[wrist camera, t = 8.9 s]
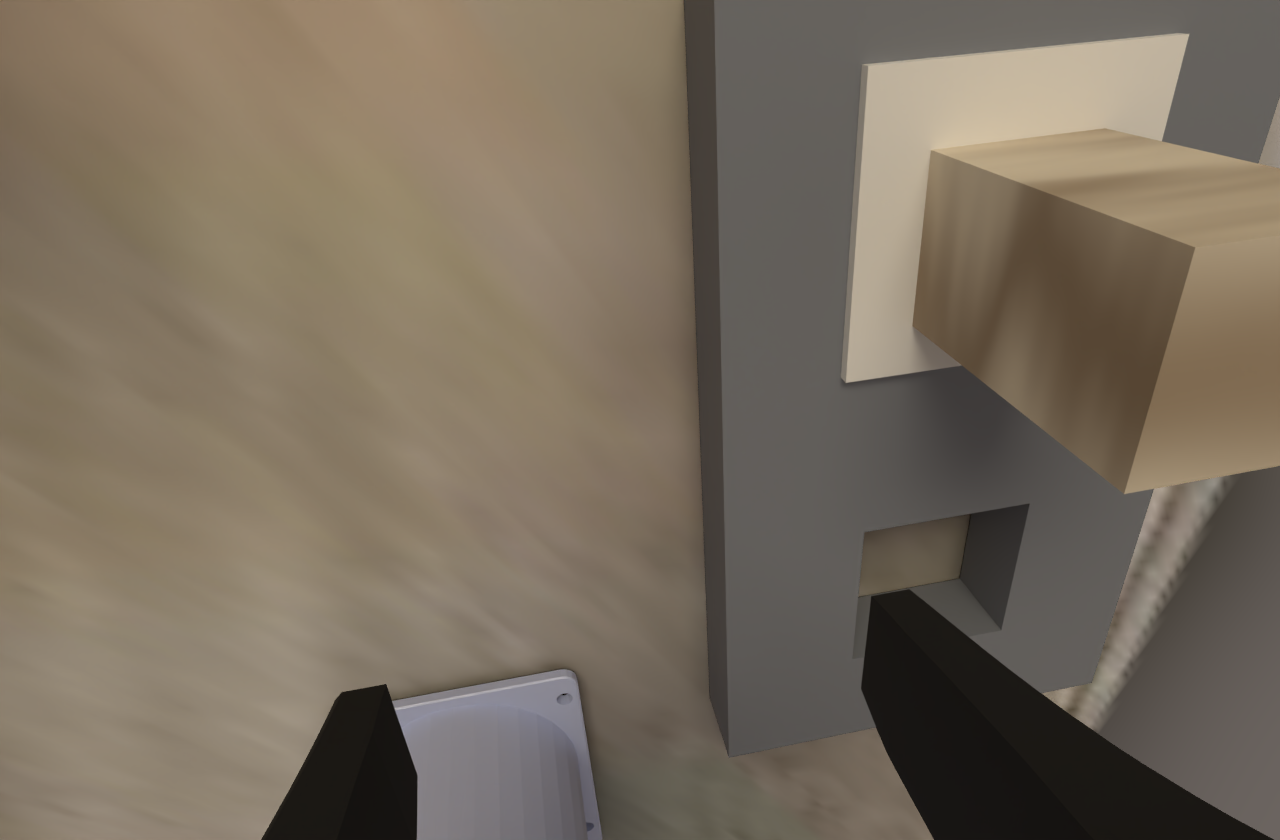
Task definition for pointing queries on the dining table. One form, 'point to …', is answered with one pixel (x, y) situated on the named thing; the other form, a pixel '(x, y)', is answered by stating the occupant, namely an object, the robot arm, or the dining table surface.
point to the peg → (1113, 297)
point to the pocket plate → (904, 322)
